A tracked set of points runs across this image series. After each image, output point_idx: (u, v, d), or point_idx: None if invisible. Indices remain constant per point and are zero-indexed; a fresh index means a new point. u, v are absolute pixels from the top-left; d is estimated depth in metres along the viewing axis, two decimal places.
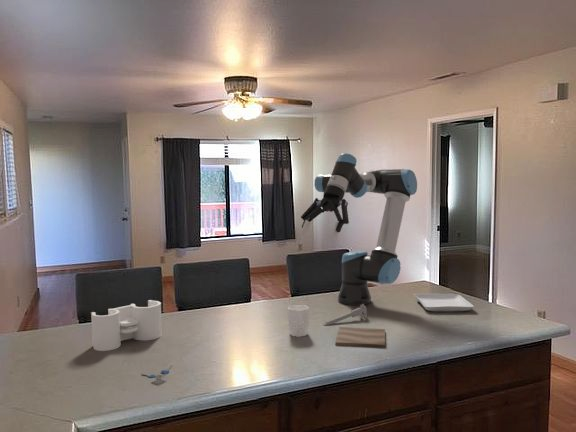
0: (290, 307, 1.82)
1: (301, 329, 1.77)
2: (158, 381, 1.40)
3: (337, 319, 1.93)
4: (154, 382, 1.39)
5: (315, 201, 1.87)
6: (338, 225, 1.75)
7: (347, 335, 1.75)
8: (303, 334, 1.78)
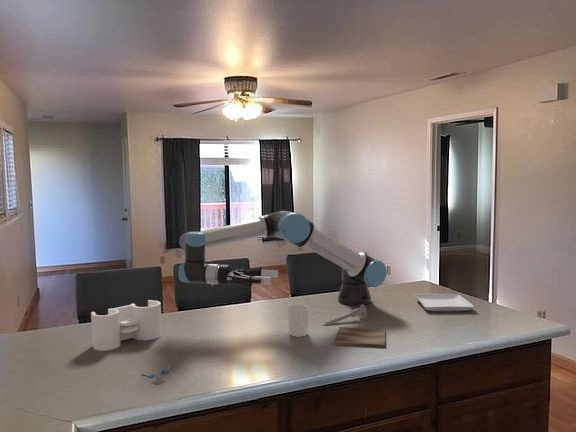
0: (290, 307, 1.82)
1: (301, 329, 1.77)
2: (158, 381, 1.40)
3: (337, 319, 1.93)
4: (154, 382, 1.39)
5: None
6: (255, 282, 1.74)
7: (347, 335, 1.75)
8: (303, 334, 1.78)
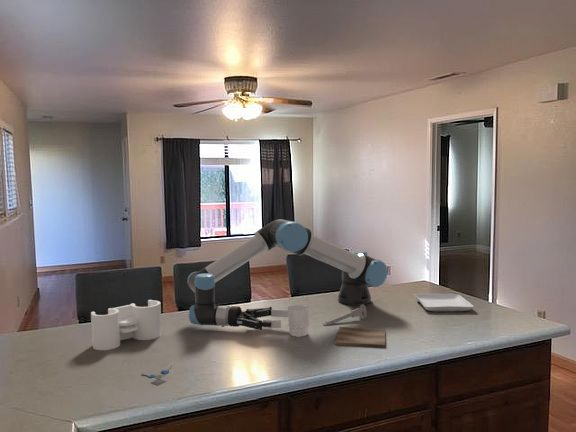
0: (290, 307, 1.82)
1: (301, 329, 1.77)
2: (158, 381, 1.40)
3: (337, 319, 1.93)
4: (154, 382, 1.39)
5: None
6: None
7: (347, 335, 1.75)
8: (303, 334, 1.78)
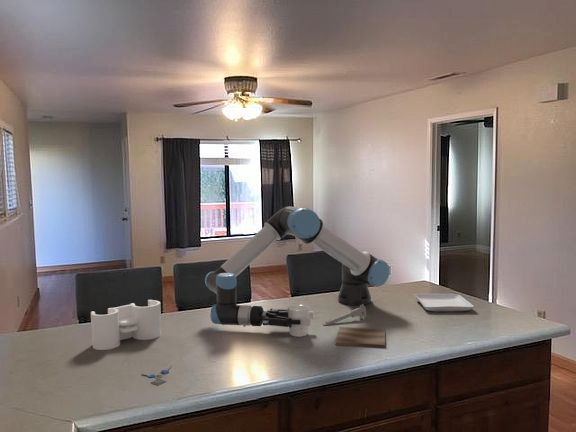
0: (290, 307, 1.82)
1: (301, 329, 1.77)
2: (157, 381, 1.40)
3: (337, 319, 1.93)
4: (154, 382, 1.39)
5: None
6: None
7: (347, 335, 1.75)
8: (303, 334, 1.78)
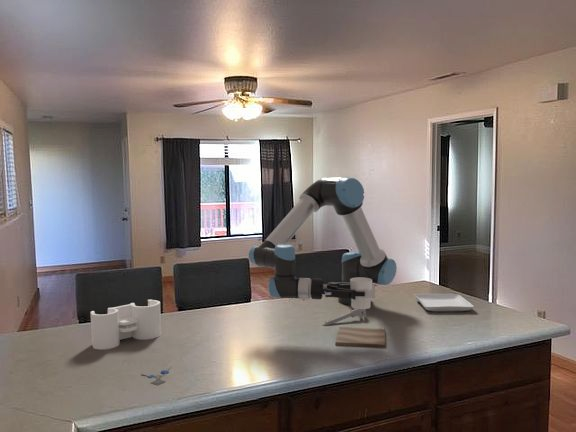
0: (352, 279, 1.76)
1: (365, 301, 1.71)
2: (157, 381, 1.40)
3: (337, 319, 1.93)
4: (154, 382, 1.39)
5: None
6: None
7: (347, 335, 1.75)
8: (366, 307, 1.72)
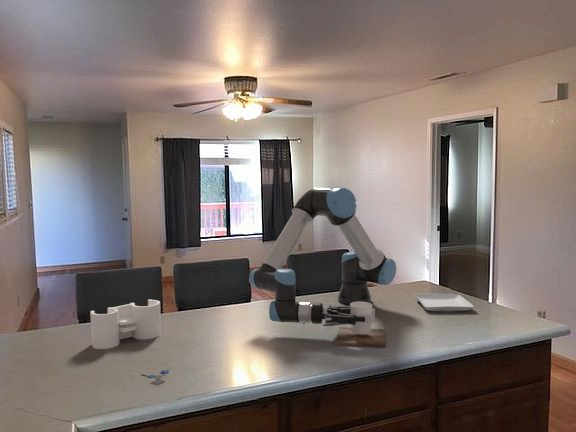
0: (352, 304, 1.77)
1: (365, 326, 1.72)
2: (157, 381, 1.40)
3: None
4: (153, 382, 1.39)
5: None
6: None
7: (347, 335, 1.75)
8: (367, 332, 1.73)
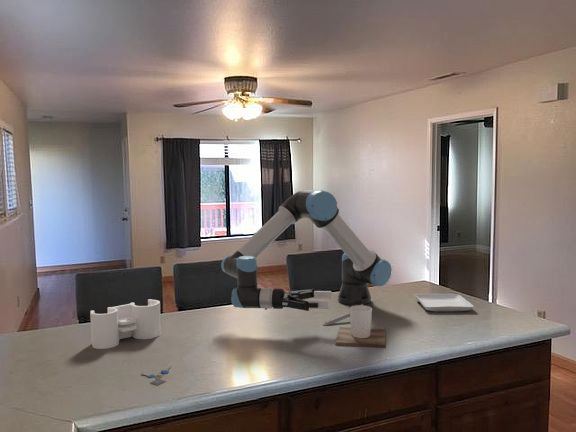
0: (351, 308, 1.77)
1: (364, 330, 1.72)
2: (157, 381, 1.40)
3: (336, 319, 1.93)
4: (153, 382, 1.39)
5: None
6: None
7: (347, 335, 1.75)
8: (366, 335, 1.73)
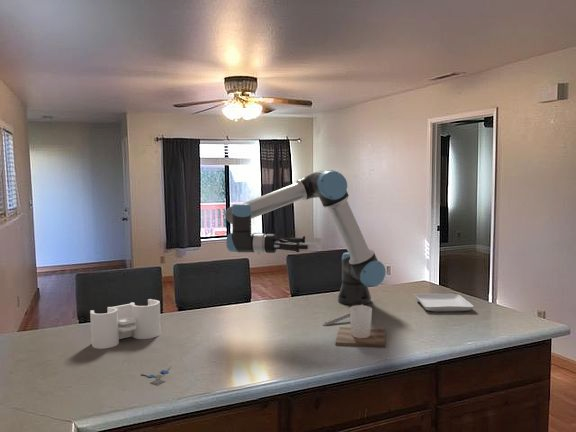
0: (351, 308, 1.77)
1: (364, 330, 1.72)
2: (157, 381, 1.40)
3: (336, 319, 1.93)
4: (153, 382, 1.39)
5: None
6: (302, 248, 1.82)
7: (347, 335, 1.75)
8: (366, 335, 1.73)
